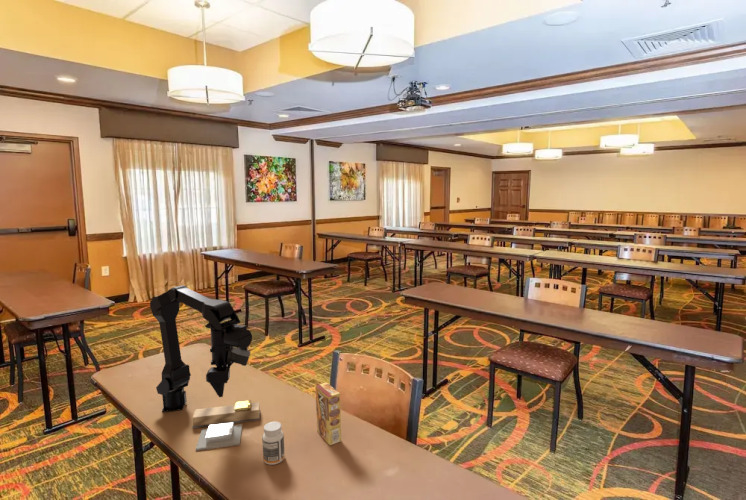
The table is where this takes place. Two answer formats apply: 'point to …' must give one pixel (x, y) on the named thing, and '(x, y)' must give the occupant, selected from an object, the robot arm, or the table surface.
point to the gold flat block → (243, 405)
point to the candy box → (328, 413)
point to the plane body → (225, 415)
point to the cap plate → (219, 433)
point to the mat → (234, 441)
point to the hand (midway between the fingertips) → (223, 389)
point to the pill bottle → (273, 443)
